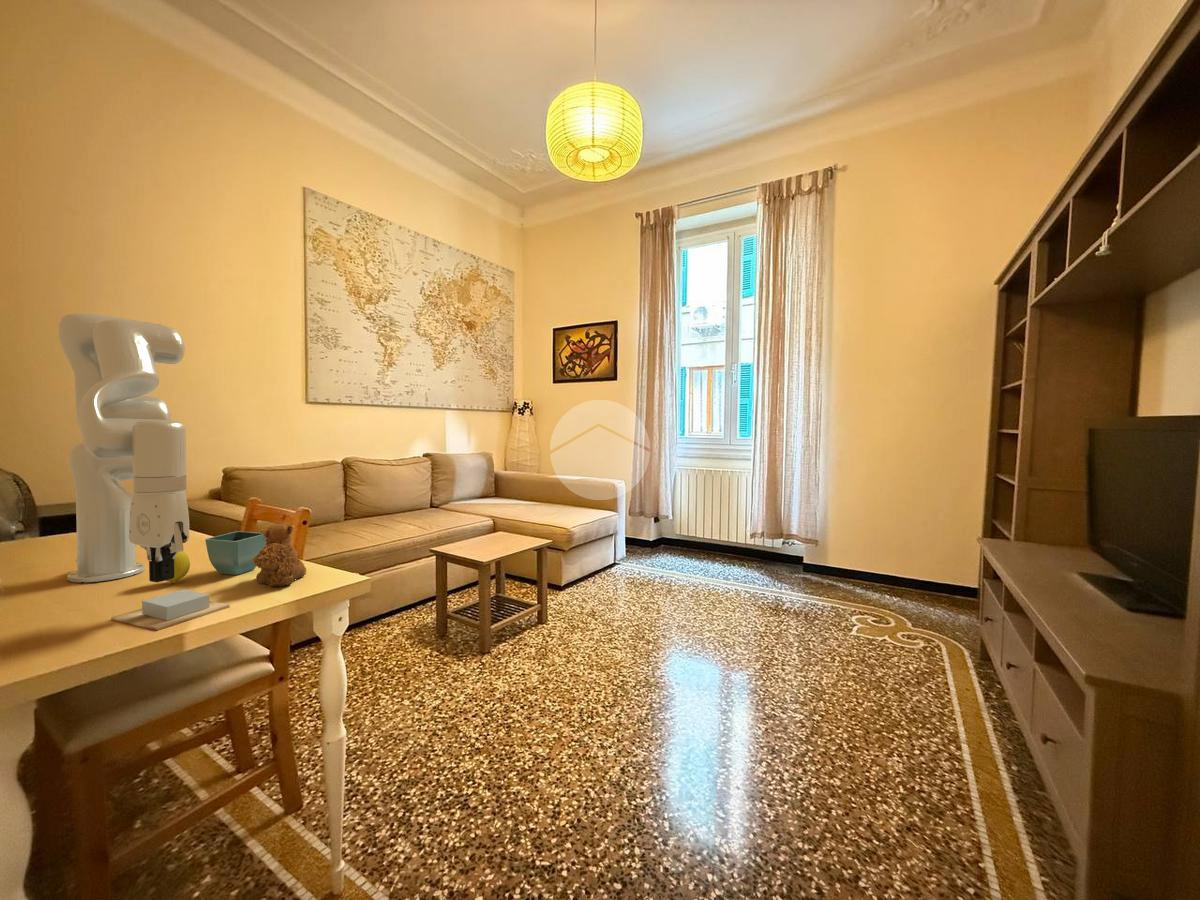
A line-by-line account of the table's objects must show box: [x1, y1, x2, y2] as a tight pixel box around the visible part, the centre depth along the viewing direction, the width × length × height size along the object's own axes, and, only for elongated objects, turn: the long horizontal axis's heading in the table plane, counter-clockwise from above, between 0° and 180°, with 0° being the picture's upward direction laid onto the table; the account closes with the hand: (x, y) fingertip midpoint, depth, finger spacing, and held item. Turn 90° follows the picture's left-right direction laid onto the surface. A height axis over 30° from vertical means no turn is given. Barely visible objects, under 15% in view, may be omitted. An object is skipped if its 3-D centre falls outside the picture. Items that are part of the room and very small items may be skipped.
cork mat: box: [111, 600, 230, 631], centre depth 91 cm, size 13×12×1 cm
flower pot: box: [205, 530, 267, 576], centre depth 117 cm, size 9×9×9 cm
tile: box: [141, 588, 210, 620], centre depth 91 cm, size 3×7×7 cm
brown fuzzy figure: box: [252, 523, 307, 588], centre depth 110 cm, size 10×14×13 cm
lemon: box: [165, 550, 191, 584], centre depth 108 cm, size 6×6×8 cm
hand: (162, 579), depth 92 cm, fingers closed
